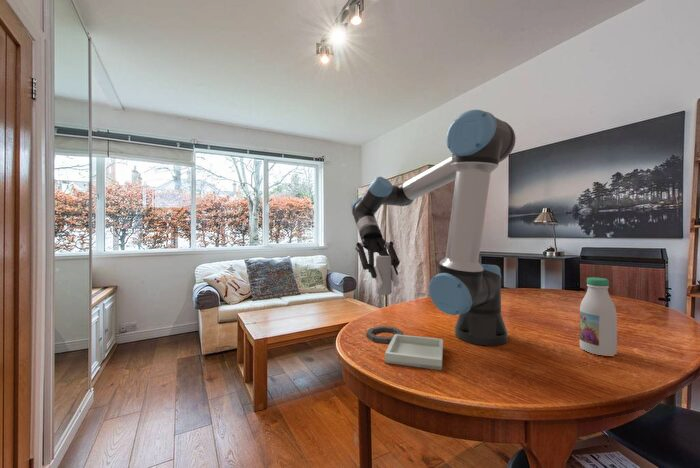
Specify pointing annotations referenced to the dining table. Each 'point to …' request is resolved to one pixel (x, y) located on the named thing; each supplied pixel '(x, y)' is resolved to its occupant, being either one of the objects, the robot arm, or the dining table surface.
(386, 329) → the seat ring
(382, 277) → the beverage can
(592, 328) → the milk bottle
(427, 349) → the tray
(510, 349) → the dining table surface
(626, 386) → the dining table surface
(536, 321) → the dining table surface
